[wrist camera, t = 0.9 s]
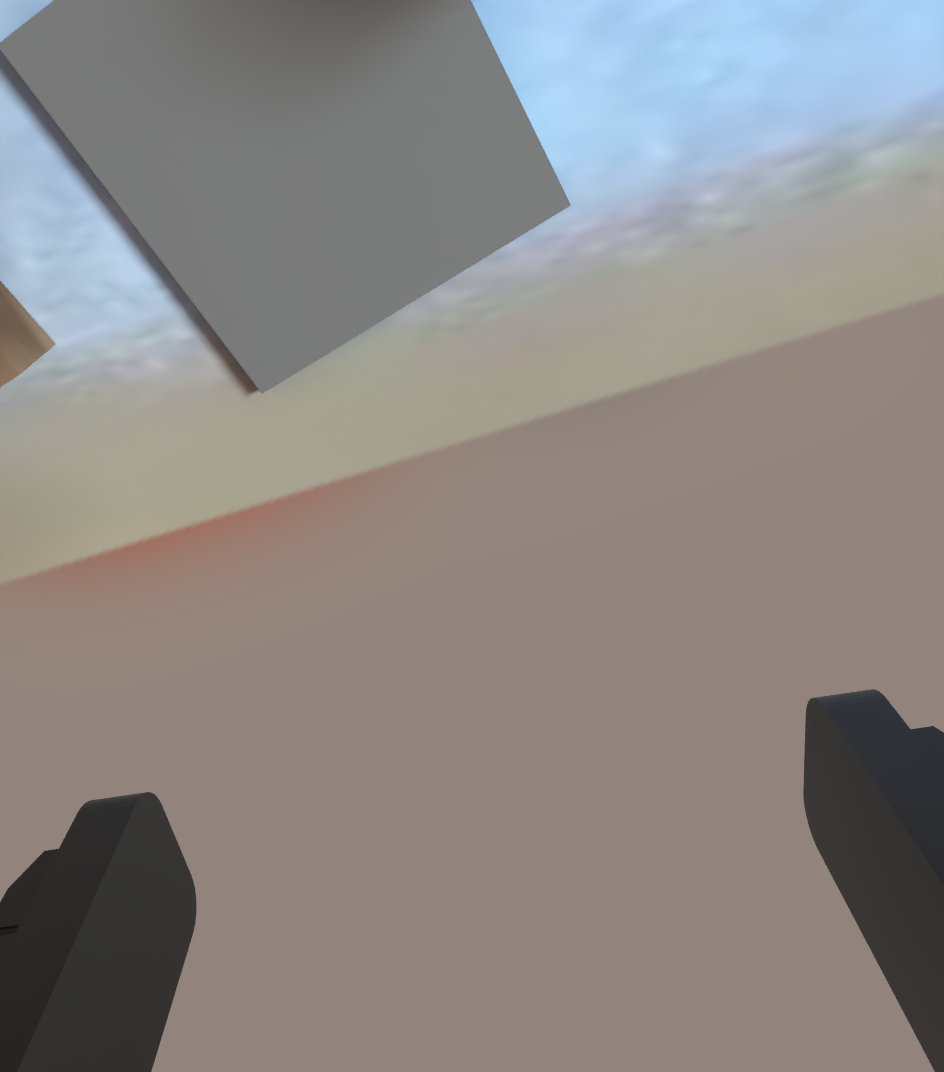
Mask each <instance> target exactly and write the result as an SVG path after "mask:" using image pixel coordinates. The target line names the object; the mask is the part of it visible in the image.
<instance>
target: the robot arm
mask: <svg viewBox="0 0 944 1072" xmlns="http://www.w3.org/2000/svg"><path fill="white" fill-rule="evenodd" d="M804 805H805V811H806V816H807V820H808V824H809V827H810V830H811V834H812V837H813V839H814V842H815V844H816V846H817V848H818V850H819V852H820V854H821V856H822V858H823V860H824V862H825V864H826V865H827V867H828V869H829V871H830V873H831V875H832V877H833V879H834V881H835V883H836V885H837V886H838V888H839V890H840V892H841V894H842V896H843V898H844V900H845V902H846V904H847V905H848V907H849V909H850V911H851V913H852V915H853V917H854V919H855V921H856V922H857V924H858V926H859V928H860V930H861V932H862V934H863V936H864V938H865V940H866V942H867V944H868V945H869V947H870V949H871V951H872V953H873V955H874V957H875V959H876V961H877V963H878V964H879V966H880V968H881V970H882V972H883V974H884V976H885V978H886V979H887V981H888V983H889V985H890V987H891V989H892V991H893V993H894V995H895V997H896V999H897V1001H898V1002H899V1004H900V1006H901V1008H902V1010H903V1012H904V1014H905V1016H906V1018H907V1019H908V1021H909V1023H910V1025H911V1027H912V1029H913V1031H914V1033H915V1035H916V1037H917V1039H918V1040H919V1042H920V1044H921V1046H922V1048H923V1050H924V1052H925V1054H926V1055H927V1057H928V1059H929V1061H930V1063H931V1065H932V1067H933V1069H934V1071H935V1072H944V733H943V732H942V731H940V730H939V729H937V728H935V727H934V726H931V727H924V728H917V729H910V728H909V727H908V726H907V724H906V723H905V722H904V721H903V719H902V718H901V717H900V715H899V714H898V713H897V711H896V710H895V709H894V708H893V707H892V705H891V704H890V703H889V701H888V700H887V699H886V698H885V696H884V695H883V694H882V693H880V692H879V691H877V690H873V689H872V690H865V691H858V692H851V693H844V694H837V695H830V696H824V697H817V698H812V699H810V700H809V702H808V704H807V708H806V727H805V760H804ZM195 919H196V893H195V887H194V883H193V879H192V876H191V874H190V871H189V869H188V866H187V864H186V862H185V859H184V857H183V855H182V852H181V850H180V847H179V845H178V842H177V840H176V838H175V835H174V833H173V830H172V828H171V826H170V823H169V821H168V819H167V816H166V814H165V811H164V809H163V807H162V804H161V802H160V801H159V799H158V798H157V796H155V795H154V794H153V793H150V792H146V793H139V794H132V795H125V796H118V797H111V798H104V799H97V800H91V801H88V802H87V803H85V804H84V805H83V806H82V807H81V808H80V810H79V812H78V813H77V815H76V817H75V819H74V821H73V823H72V825H71V827H70V829H69V831H68V832H67V834H66V836H65V838H64V840H63V842H62V844H61V846H60V848H59V849H55V850H48V851H44V852H43V853H42V854H41V855H40V856H39V857H38V858H37V859H36V861H34V862H33V864H31V865H30V867H29V868H28V869H27V870H26V871H25V872H24V873H23V874H22V875H21V876H20V877H19V878H18V879H17V880H16V881H15V882H14V883H13V884H12V885H11V886H10V887H9V888H8V890H7V891H6V893H5V895H4V897H3V898H2V900H1V902H0V1072H151V1070H152V1067H153V1064H154V1061H155V1057H156V1054H157V1051H158V1047H159V1044H160V1041H161V1037H162V1034H163V1031H164V1028H165V1024H166V1021H167V1018H168V1014H169V1011H170V1008H171V1004H172V1001H173V998H174V995H175V991H176V987H177V985H178V981H179V978H180V974H181V971H182V968H183V965H184V961H185V958H186V955H187V952H188V948H189V945H190V942H191V938H192V935H193V931H194V926H195Z"/></svg>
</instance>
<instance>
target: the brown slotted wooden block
mask: <svg viewBox="0 0 944 1072" xmlns="http://www.w3.org/2000/svg"><path fill="white" fill-rule="evenodd" d="M54 345H55V343H54V342H53V341H52V340H51V339H50V337H49V336H48V335H47V334H46V333H45V332H44V331H43V329H42V328H41V327H40V326H39V325H38V324H37V323H36V321H35V320H34V319H33V318H32V317H31V316H30V314H29V313H28V312H27V311H26V310H25V309H24V308H23V306H22V305H21V304H20V303H19V302H18V301H17V300H16V298H15V297H14V296H13V295H12V294H11V293H10V292H9V290H8V289H7V288H6V287H5V286H4V285H3V284H2V282H1V281H0V387H1V386H3V385H4V384H6V383H7V382H9V381H10V380H12V379H13V378H15V377H16V376H18V375H19V374H21V373H22V372H23V371H24V370H25V369H27V368H28V367H29V366H30V365H31V364H33V363H34V362H35V361H36V360H37V359H38V358H40V357H41V356H42V355H43V354H44V353H46V352H47V351H48V350H49V349H50V348H52V347H53V346H54Z"/></svg>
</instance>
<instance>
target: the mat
mask: <svg viewBox="0 0 944 1072" xmlns="http://www.w3.org/2000/svg"><path fill="white" fill-rule="evenodd" d="M0 50H1V52H2V53H3V54H4V56H5V57H6V58H7V59H8V61H9V62H10V63H11V65H12V66H13V67H14V69H15V70H16V71H17V73H18V74H19V75H20V77H21V78H22V79H23V80H24V82H25V83H26V84H27V86H28V87H29V88H30V90H31V91H32V92H33V94H34V95H35V96H36V98H37V99H38V100H39V101H40V103H41V104H42V105H43V107H44V108H45V109H46V111H47V112H48V113H49V115H50V116H51V117H52V119H53V120H54V121H55V122H56V124H57V125H58V126H59V128H60V129H61V130H62V132H63V133H64V134H65V136H66V137H67V138H68V140H69V141H70V142H71V143H72V145H73V146H74V147H75V149H76V150H77V151H78V153H79V154H80V155H81V157H82V158H83V159H84V161H85V162H86V163H87V164H88V166H89V167H90V168H91V170H92V171H93V172H94V174H95V175H96V176H97V178H98V179H99V180H100V182H101V183H102V184H103V185H104V187H105V188H106V189H107V191H108V192H109V193H110V195H111V196H112V197H113V199H114V200H115V201H116V203H117V204H118V205H119V207H120V208H121V209H122V210H123V212H124V213H125V214H126V216H127V217H128V218H129V220H130V221H131V222H132V224H133V225H134V226H135V228H136V229H137V230H138V231H139V233H140V234H141V235H142V237H143V238H144V239H145V241H146V242H147V243H148V245H149V246H150V247H151V249H152V250H153V251H154V252H155V254H156V255H157V256H158V258H159V259H160V260H161V262H162V263H163V264H164V266H165V267H166V268H167V270H168V271H169V272H170V273H171V275H172V276H173V277H174V279H175V280H176V281H177V283H178V284H179V285H180V287H181V288H182V289H183V291H184V292H185V293H186V294H187V296H188V297H189V298H190V300H191V301H192V302H193V304H194V305H195V306H196V308H197V309H198V310H199V312H200V313H201V314H202V315H203V317H204V318H205V319H206V321H207V322H208V323H209V325H210V326H211V327H212V329H213V330H214V331H215V333H216V334H217V335H218V336H219V338H220V339H221V340H222V342H223V343H224V344H225V346H226V347H227V348H228V350H229V351H230V352H231V354H232V355H233V356H234V358H235V359H236V360H237V361H238V363H239V364H240V365H241V367H242V368H243V369H244V371H245V372H246V373H247V375H248V376H249V377H250V379H251V380H252V381H253V382H254V384H255V385H256V386H257V388H258V389H259V390H260V392H261V393H264V392H265V391H267V390H269V389H270V388H272V387H274V386H275V385H277V384H279V383H280V382H282V381H284V380H285V379H287V378H288V377H290V376H292V375H293V374H295V373H297V372H298V371H300V370H302V369H303V368H305V367H306V366H308V365H310V364H311V363H313V362H315V361H316V360H318V359H320V358H321V357H323V356H324V355H326V354H328V353H329V352H331V351H333V350H334V349H336V348H338V347H339V346H341V345H343V344H344V343H346V342H347V341H349V340H351V339H352V338H354V337H356V336H357V335H359V334H361V333H362V332H364V331H365V330H367V329H369V328H370V327H372V326H374V325H375V324H377V323H379V322H380V321H382V320H383V319H385V318H387V317H388V316H390V315H392V314H393V313H395V312H397V311H398V310H400V309H402V308H403V307H405V306H406V305H408V304H410V303H411V302H413V301H415V300H416V299H418V298H420V297H421V296H423V295H424V294H426V293H428V292H429V291H431V290H433V289H434V288H436V287H438V286H439V285H441V284H442V283H444V282H446V281H447V280H449V279H451V278H452V277H454V276H456V275H457V274H459V273H461V272H462V271H464V270H465V269H467V268H469V267H470V266H472V265H474V264H475V263H477V262H479V261H480V260H482V259H483V258H485V257H487V256H488V255H490V254H492V253H493V252H495V251H497V250H498V249H500V248H501V247H503V246H505V245H506V244H508V243H510V242H511V241H513V240H515V239H516V238H518V237H519V236H521V235H523V234H524V233H526V232H528V231H529V230H531V229H533V228H534V227H536V226H538V225H539V224H541V223H542V222H544V221H546V220H547V219H549V218H551V217H552V216H554V215H556V214H557V213H559V212H560V211H562V210H564V209H565V208H567V207H569V206H570V203H569V201H568V199H567V197H566V195H565V192H564V190H563V188H562V186H561V184H560V182H559V180H558V178H557V176H556V174H555V172H554V170H553V168H552V166H551V164H550V162H549V160H548V158H547V156H546V154H545V152H544V150H543V147H542V145H541V143H540V141H539V139H538V137H537V135H536V133H535V131H534V129H533V127H532V125H531V123H530V121H529V119H528V117H527V115H526V113H525V111H524V109H523V107H522V105H521V102H520V100H519V98H518V96H517V94H516V92H515V90H514V88H513V86H512V84H511V82H510V80H509V78H508V76H507V74H506V72H505V70H504V68H503V66H502V64H501V62H500V60H499V57H498V55H497V53H496V51H495V49H494V47H493V45H492V43H491V41H490V39H489V37H488V35H487V33H486V31H485V29H484V27H483V25H482V23H481V21H480V19H479V17H478V15H477V12H476V10H475V8H474V6H473V4H472V2H471V0H54V1H53V2H52V3H51V4H49V5H48V6H47V7H45V8H44V9H43V10H42V11H40V12H39V13H38V14H36V15H35V16H34V17H33V18H31V19H30V20H29V21H27V22H26V23H25V24H24V25H22V26H21V27H20V28H18V29H17V30H16V31H15V32H13V33H12V34H11V35H9V36H8V37H7V38H6V39H4V40H3V41H2V42H0Z"/></svg>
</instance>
